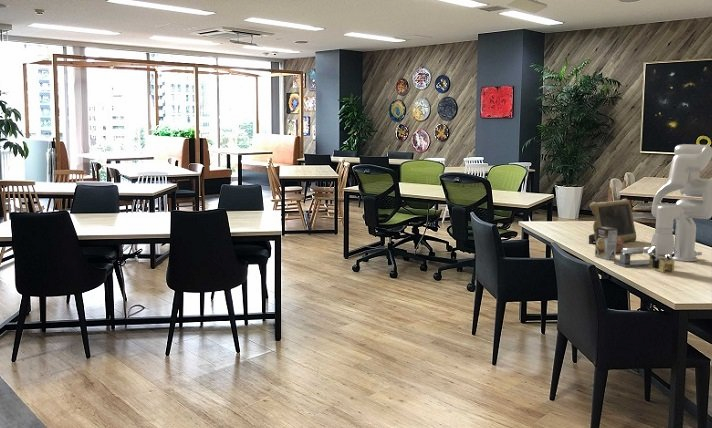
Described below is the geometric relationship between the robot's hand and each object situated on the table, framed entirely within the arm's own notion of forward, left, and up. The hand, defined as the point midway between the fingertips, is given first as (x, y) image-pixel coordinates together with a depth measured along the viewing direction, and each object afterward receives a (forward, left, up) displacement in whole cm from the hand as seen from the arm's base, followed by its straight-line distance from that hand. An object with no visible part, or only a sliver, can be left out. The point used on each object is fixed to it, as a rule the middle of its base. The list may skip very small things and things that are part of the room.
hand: (661, 267), depth 319 cm
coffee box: (+10, -31, -1) cm, 33 cm away
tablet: (-20, -69, -2) cm, 72 cm away
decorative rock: (-4, -45, -2) cm, 45 cm away
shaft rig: (+1, -13, -1) cm, 13 cm away
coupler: (0, 0, -1) cm, 1 cm away
